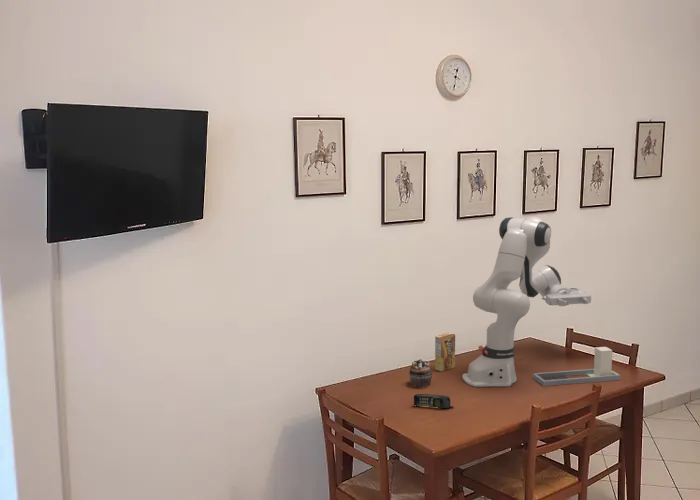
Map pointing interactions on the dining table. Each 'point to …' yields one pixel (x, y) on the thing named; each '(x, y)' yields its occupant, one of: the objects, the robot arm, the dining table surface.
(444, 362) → the candy box
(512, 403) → the dining table surface
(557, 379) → the tray
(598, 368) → the ivory block
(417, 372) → the cupcake
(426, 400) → the mobile phone
